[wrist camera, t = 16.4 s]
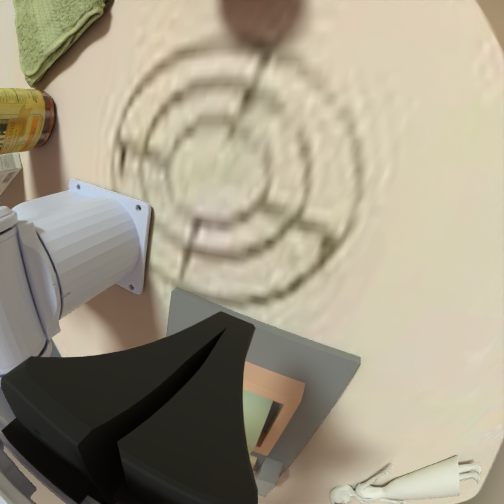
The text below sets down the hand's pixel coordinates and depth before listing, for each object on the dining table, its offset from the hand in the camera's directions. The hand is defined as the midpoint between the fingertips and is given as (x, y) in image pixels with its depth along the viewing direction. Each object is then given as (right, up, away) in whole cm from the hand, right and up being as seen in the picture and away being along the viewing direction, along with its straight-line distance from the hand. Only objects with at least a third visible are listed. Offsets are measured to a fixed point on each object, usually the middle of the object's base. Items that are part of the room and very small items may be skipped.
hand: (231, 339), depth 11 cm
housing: (-1, -11, +16) cm, 19 cm away
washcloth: (-19, +29, +8) cm, 36 cm away
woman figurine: (+18, -22, +14) cm, 32 cm away
